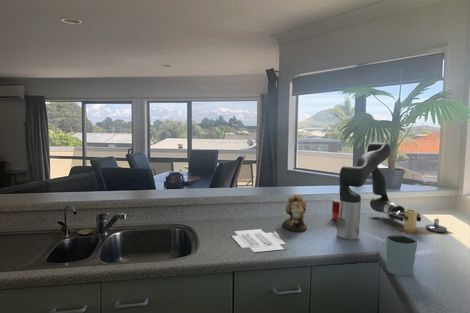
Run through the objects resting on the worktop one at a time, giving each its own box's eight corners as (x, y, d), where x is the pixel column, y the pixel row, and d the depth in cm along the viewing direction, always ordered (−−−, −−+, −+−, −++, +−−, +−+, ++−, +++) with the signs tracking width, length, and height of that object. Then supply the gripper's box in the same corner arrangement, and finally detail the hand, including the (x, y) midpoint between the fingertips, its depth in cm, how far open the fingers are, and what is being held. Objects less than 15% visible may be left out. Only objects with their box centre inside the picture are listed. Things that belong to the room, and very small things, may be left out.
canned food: (341, 222, 184) (342, 202, 183) (329, 219, 190) (329, 199, 189) (349, 220, 189) (350, 200, 188) (336, 216, 195) (337, 198, 194)
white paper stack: (246, 255, 138) (246, 246, 137) (227, 235, 164) (227, 228, 164) (292, 250, 144) (292, 241, 144) (266, 232, 170) (266, 225, 170)
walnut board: (406, 237, 160) (407, 227, 159) (393, 230, 171) (393, 220, 170) (453, 236, 163) (454, 226, 162) (437, 229, 174) (437, 219, 173)
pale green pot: (384, 274, 120) (386, 241, 119) (383, 263, 130) (385, 232, 128) (417, 279, 117) (419, 245, 115) (413, 267, 126) (415, 236, 125)
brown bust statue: (278, 222, 183) (278, 190, 181) (299, 221, 184) (300, 190, 183) (288, 233, 165) (289, 198, 163) (311, 232, 167) (312, 197, 165)
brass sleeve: (410, 233, 162) (411, 212, 161) (401, 229, 167) (402, 209, 166) (418, 231, 164) (419, 211, 163) (408, 228, 169) (410, 208, 168)
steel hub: (437, 233, 162) (438, 221, 161) (421, 228, 170) (421, 216, 169) (450, 231, 165) (451, 219, 164) (433, 226, 173) (434, 215, 173)
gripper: (381, 203, 179) (397, 211, 163) (407, 203, 180) (426, 211, 164) (380, 217, 180) (396, 227, 164) (407, 217, 181) (425, 227, 165)
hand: (411, 219), depth 164 cm, fingers open, 8 cm apart
